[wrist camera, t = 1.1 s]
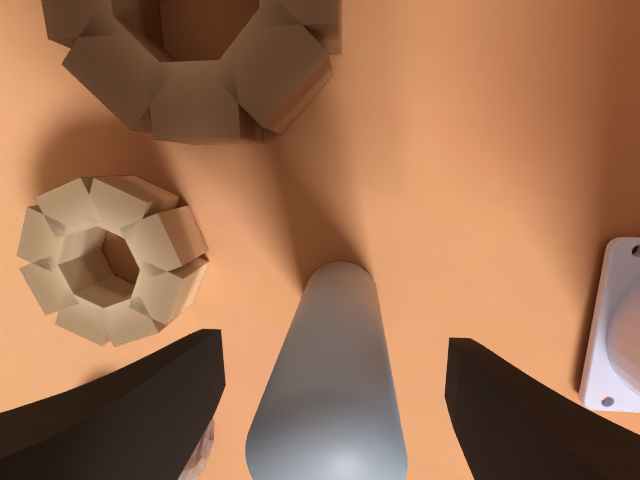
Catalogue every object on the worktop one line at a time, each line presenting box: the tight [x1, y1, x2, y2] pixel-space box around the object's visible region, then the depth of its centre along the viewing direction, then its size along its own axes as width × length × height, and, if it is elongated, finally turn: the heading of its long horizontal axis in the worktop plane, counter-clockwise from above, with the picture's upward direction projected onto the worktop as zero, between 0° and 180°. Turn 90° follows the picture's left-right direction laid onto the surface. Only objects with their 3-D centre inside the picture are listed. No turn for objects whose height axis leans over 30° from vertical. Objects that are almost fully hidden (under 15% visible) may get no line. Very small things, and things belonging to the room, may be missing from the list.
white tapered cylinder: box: [246, 261, 407, 480], centre depth 11 cm, size 3×3×9 cm
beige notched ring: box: [17, 175, 209, 347], centre depth 15 cm, size 7×7×2 cm
